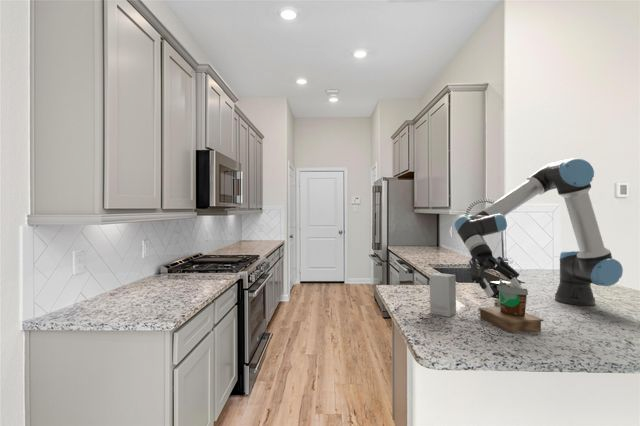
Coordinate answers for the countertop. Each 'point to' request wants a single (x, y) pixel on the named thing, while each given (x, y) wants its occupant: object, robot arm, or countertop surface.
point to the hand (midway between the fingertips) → (506, 295)
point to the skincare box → (443, 294)
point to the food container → (512, 300)
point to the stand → (510, 320)
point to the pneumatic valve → (497, 291)
